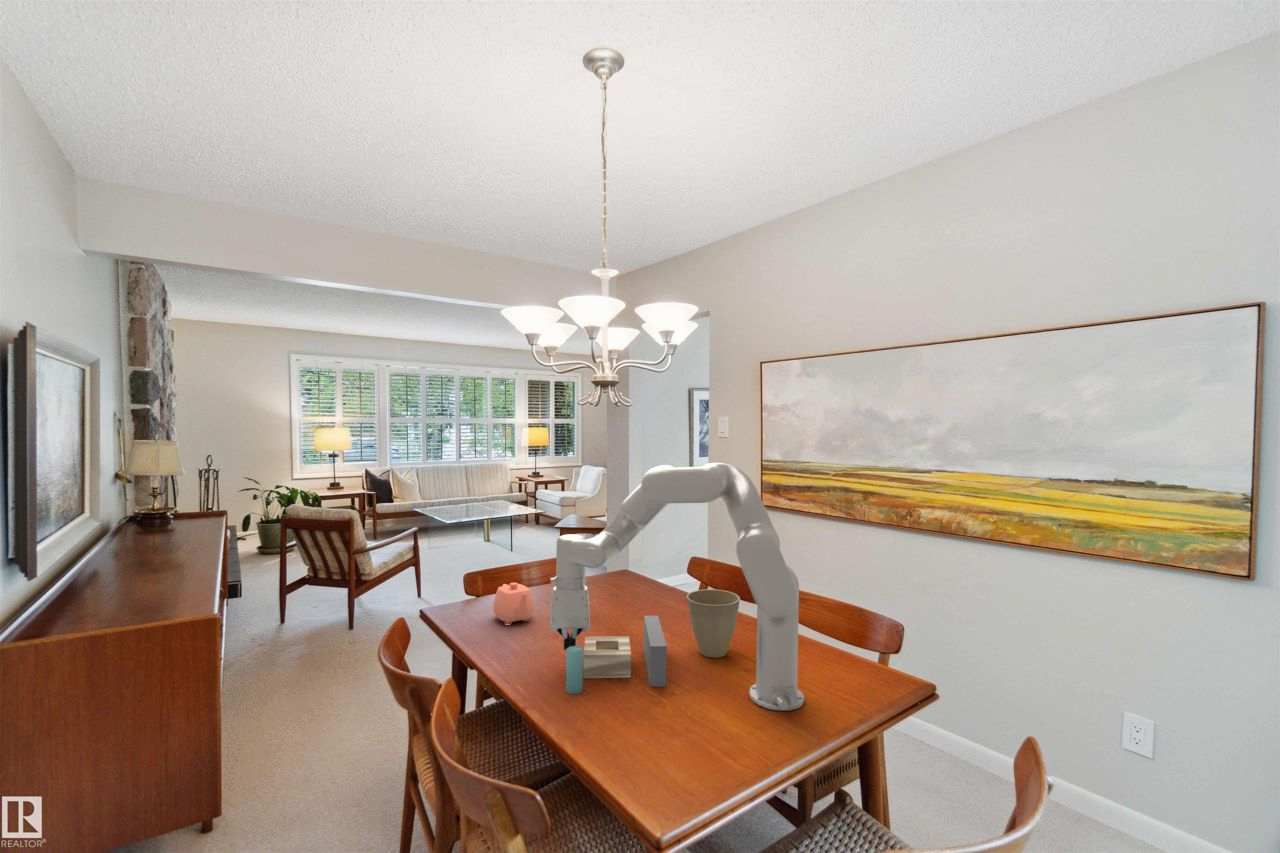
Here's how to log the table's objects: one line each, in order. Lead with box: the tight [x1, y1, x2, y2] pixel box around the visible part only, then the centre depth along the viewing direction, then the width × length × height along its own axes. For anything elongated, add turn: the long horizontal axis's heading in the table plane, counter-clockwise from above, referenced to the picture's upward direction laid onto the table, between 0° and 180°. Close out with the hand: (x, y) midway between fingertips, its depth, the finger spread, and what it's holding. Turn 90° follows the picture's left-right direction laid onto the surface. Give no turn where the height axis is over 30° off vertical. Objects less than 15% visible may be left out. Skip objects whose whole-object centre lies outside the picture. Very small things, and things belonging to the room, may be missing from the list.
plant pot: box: [686, 588, 741, 659], centre depth 159 cm, size 15×15×16 cm
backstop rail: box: [643, 615, 668, 688], centre depth 149 cm, size 22×4×10 cm, turn 4°
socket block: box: [583, 635, 632, 679], centre depth 148 cm, size 12×12×6 cm
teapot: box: [493, 582, 535, 625], centre depth 183 cm, size 20×12×12 cm, turn 35°
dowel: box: [565, 645, 584, 695], centre depth 136 cm, size 4×4×10 cm
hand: (569, 651), depth 148 cm, fingers closed
